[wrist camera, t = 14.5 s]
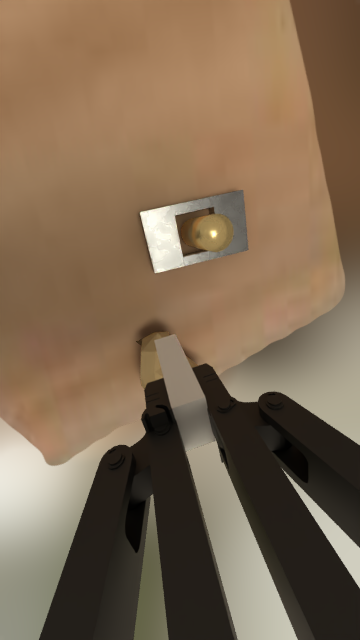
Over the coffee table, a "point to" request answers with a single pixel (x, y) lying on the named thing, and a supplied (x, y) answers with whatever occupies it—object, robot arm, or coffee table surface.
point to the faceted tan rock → (152, 359)
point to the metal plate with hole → (166, 239)
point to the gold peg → (208, 232)
